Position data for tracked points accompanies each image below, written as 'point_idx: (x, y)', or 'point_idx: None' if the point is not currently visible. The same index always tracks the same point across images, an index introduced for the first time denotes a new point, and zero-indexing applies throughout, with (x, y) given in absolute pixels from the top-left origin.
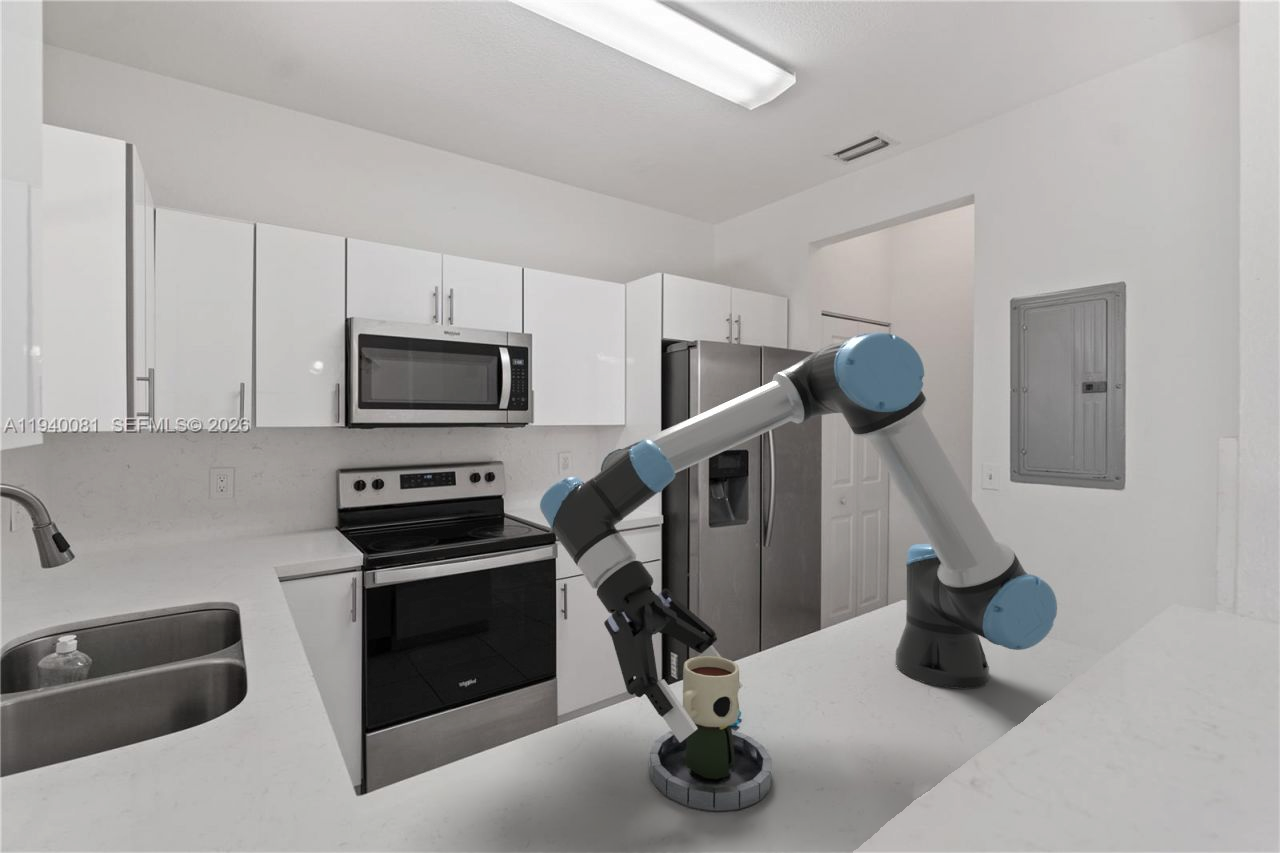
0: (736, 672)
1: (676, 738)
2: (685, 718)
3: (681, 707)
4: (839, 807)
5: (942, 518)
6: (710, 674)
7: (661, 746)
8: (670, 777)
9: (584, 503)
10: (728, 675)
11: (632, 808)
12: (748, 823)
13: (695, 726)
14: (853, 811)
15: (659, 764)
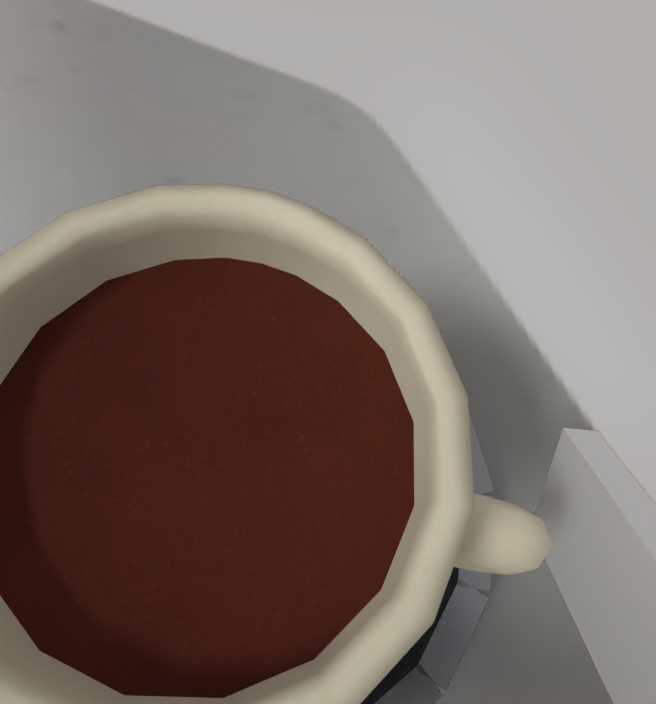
0: (226, 189)
1: None
2: (638, 483)
3: (649, 523)
4: (244, 136)
5: None
6: (162, 471)
7: None
8: (474, 585)
9: None
10: (328, 226)
11: (580, 675)
12: (435, 320)
13: (577, 437)
14: (245, 107)
15: (418, 674)
